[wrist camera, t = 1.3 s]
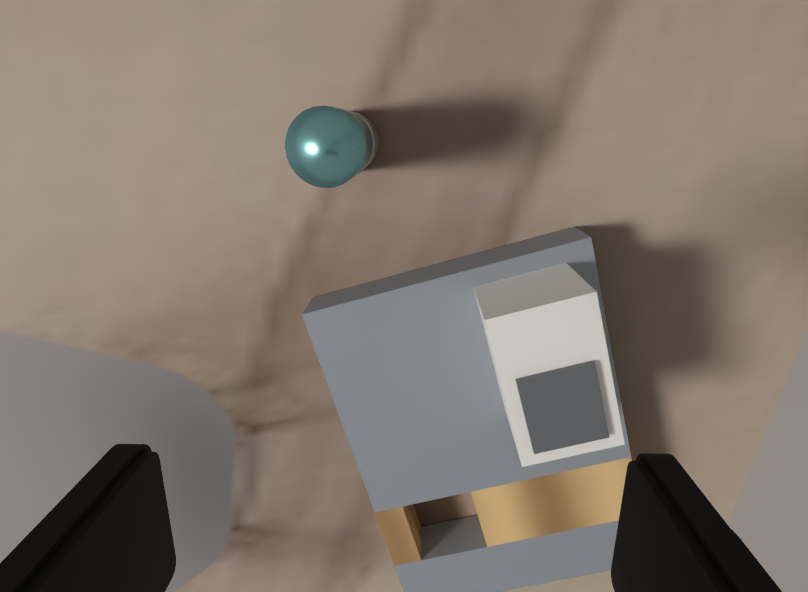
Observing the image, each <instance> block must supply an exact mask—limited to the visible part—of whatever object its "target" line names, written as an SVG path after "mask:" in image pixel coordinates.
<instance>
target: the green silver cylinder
mask: <svg viewBox="0 0 808 592" xmlns="http://www.w3.org/2000/svg"><path fill="white" fill-rule="evenodd" d="M378 147H379V138H378V133H377V131H376V128H375V126H374V125H373V123H372V122H371V121H370V120H369V119H368V118H367V117H365V116H364V115H362V114H360V113H357V112H352V111H348V110H343V109H338V108H334V107H329V106H316V107H312V108H309V109H307V110H305V111H303V112H302V113H300V114H299V115H298V116H297V117H296V118H295V119H294V120H293V122H292V123H291V125H290V127H289V129H288V131H287V135H286V140H285V150H286V155H287V159H288V161H289V164H290V166H291V167H292V169H293V170H294V172H295V173H296V174H297V175H298V176H299V177H300V178H301V179H302V180H304V181H305V182H307V183H309V184H311V185H313V186H316V187H321V188H331V187H336V186H339V185H342V184H344V183H345V182H347V181H348V180H350V179H351V178H352V177H354V176H355V175H356V174H358V173H359V172H360V171H362V170H363V169H364V168H366V167H367V166H368V165H369V164H370V163H371V162H372V161H373V160H374V158H375V157H376V154H377V152H378Z"/></svg>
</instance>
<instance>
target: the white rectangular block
mask: <svg viewBox="0 0 808 592" xmlns="http://www.w3.org/2000/svg"><path fill="white" fill-rule="evenodd" d="M474 291H475V295H476V299H477V303H478V306H479V310H480V314H481V318H482V322H483V326H484V330H485V334H486V337H487V341H488V345H489V349H490V353H491V357H492V361H493V364H494V368H495V372H496V376H497V380H498V384H499V388H500V391H501V395H502V399H503V403H504V407H505V411H506V414H507V418H508V421H509V425H510V428H511V431H512V435H513V438H514V441H515V445H516V448H517V451H518V455H519V458H520V462H521V465H522V467H525V466H530V465H534V464H539V463H543V462H548V461H552V460H557V459H562V458H566V457H571V456H575V455H580V454H584V453H589V452H593V451H598V450H603V449H607V448H612V447H616V446H621V445H625V442H624V437H623V432H622V426H621V421H620V415H619V410H618V405H617V399H616V394H615V388H614V383H613V377H612V372H611V367H610V361H609V356H608V350H607V345H606V339H605V334H604V329H603V323H602V318H601V312H600V307H599V302H598V296H597V291H595V290H594V289H593V288H592V287H591V286H590V285H589V284H588V283H587V282H586V281H585V280H584V279H583V278H582V277H581V276H580V275H578V274H577V273H576V272H575V271H574V270H573V269H572V268H571V267H570V266H569V265H568V264H567V263H564V264H560V265H556V266H552V267H548V268H545V269H541V270H537V271H533V272H529V273H526V274H522V275H518V276H514V277H510V278H507V279H503V280H499V281H495V282H491V283H488V284H484V285H480V286H476V287H474Z"/></svg>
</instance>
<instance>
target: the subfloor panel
mask: <svg viewBox="0 0 808 592" xmlns="http://www.w3.org/2000/svg"><path fill="white" fill-rule="evenodd" d="M564 263H567V264H568V265H569V266H570V267H571V268H572V269H573V270H574V271H575V272H576V273H577V274H578V275H580V276H581V277H582V278H583V279H584V280H585V281H586V282H587V283H588V284H589V285H590V286H591V287H592V288H593V289H594V290H595V291H597V296H598V302H599V307H600V312H601V318H602V323H603V329H604V334H605V339H606V345H607V350H608V356H609V361H610V367H611V372H612V377H613V383H614V388H615V394H616V399H617V405H618V410H619V415H620V421H621V426H622V432H623V437H624V442H625V445H621V446H616V447H612V448H607V449H603V450H598V451H593V452H589V453H584V454H580V455H575V456H571V457H566V458H562V459H557V460H552V461H548V462H543V463H539V464H534V465H530V466H525V467H522V465H521V462H520V458H519V455H518V451H517V448H516V445H515V441H514V438H513V435H512V431H511V428H510V425H509V421H508V418H507V414H506V411H505V407H504V403H503V399H502V395H501V391H500V388H499V384H498V380H497V376H496V372H495V368H494V364H493V361H492V357H491V353H490V349H489V345H488V341H487V337H486V334H485V330H484V326H483V322H482V318H481V314H480V310H479V306H478V303H477V299H476V295H475V291H474V287H476V286H480V285H484V284H488V283H491V282H495V281H499V280H503V279H507V278H510V277H514V276H518V275H522V274H526V273H529V272H533V271H537V270H541V269H545V268H548V267H552V266H556V265H560V264H564ZM302 317H303V319H304V322H305V325H306V327H307V330H308V333H309V336H310V338H311V341H312V344H313V346H314V349H315V352H316V354H317V357H318V360H319V363H320V365H321V368H322V371H323V373H324V376H325V379H326V382H327V384H328V387H329V390H330V392H331V395H332V398H333V400H334V403H335V406H336V409H337V411H338V414H339V417H340V419H341V422H342V425H343V427H344V430H345V433H346V436H347V438H348V441H349V444H350V446H351V449H352V452H353V454H354V457H355V460H356V463H357V465H358V468H359V471H360V473H361V476H362V479H363V481H364V484H365V487H366V490H367V492H368V495H369V498H370V500H371V503H372V506H373V508H374V511H375V514H376V517H377V519H378V522H379V525H380V527H381V530H382V533H383V535H384V538H385V541H386V544H387V546H388V549H389V552H390V554H391V557H392V560H393V562H394V565H395V568H396V571H397V573H398V576H399V579H400V581H401V584H402V587H403V590H404V592H500V591H505V590H510V589H516V588H521V587H526V586H531V585H536V584H541V583H547V582H552V581H557V580H562V579H567V578H573V577H578V576H583V575H588V574H593V573H599V572H604V571H609V570H611V566H612V559H613V553H614V547H615V540H616V534H617V528H618V522H619V515H620V509H621V503H622V496H623V490H624V484H625V477H626V471H627V466H628V463H629V462H630V461H632V458H631V453H630V447H629V442H628V436H627V431H626V425H625V420H624V414H623V409H622V403H621V398H620V392H619V387H618V381H617V376H616V370H615V365H614V359H613V354H612V348H611V343H610V337H609V332H608V326H607V321H606V315H605V310H604V304H603V299H602V293H601V288H600V282H599V277H598V271H597V266H596V260H595V255H594V249H593V244H592V238H591V237H590V236H589V235H587V234H586V233H584V232H583V231H581V230H579V229H578V228H576V227H572V228H568V229H564V230H561V231H557V232H553V233H549V234H546V235H542V236H538V237H535V238H531V239H527V240H524V241H520V242H516V243H512V244H509V245H505V246H501V247H498V248H494V249H490V250H487V251H483V252H479V253H475V254H472V255H468V256H464V257H461V258H457V259H453V260H450V261H446V262H442V263H439V264H435V265H431V266H427V267H424V268H420V269H416V270H413V271H409V272H405V273H402V274H398V275H394V276H390V277H387V278H383V279H379V280H376V281H372V282H368V283H365V284H361V285H357V286H353V287H350V288H346V289H342V290H339V291H335V292H331V293H328V294H324V295H320V296H317V297H313V298H312V299H311V301H310V302H309V304H308V306H307V307H306V309H305V310H304V312H303V313H302ZM468 492H471V494H472V497H473V501H474V504H475V508H476V511H477V514H478V515H474V516H469V517H465V518H460V519H455V520H450V521H446V522H441V523H436V524H431V525H427V526H422V527H421V525H420V522H419V519H418V516H417V513H416V510H415V507H414V504H417V503H421V502H426V501H431V500H435V499H440V498H445V497H449V496H454V495H458V494H463V493H468Z"/></svg>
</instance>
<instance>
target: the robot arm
mask: <svg viewBox="0 0 808 592" xmlns="http://www.w3.org/2000/svg"><path fill="white" fill-rule="evenodd" d="M175 566H176V556H175V549H174V544H173V537H172V531H171V526H170V519H169V513H168V507H167V501H166V495H165V490H164V483H163V477H162V471H161V465H160V459H159V456H158V454H157V453H156V452H152V451H151V449H150V447H149V446H148V445H145V444H117V445H115V446H113V447H112V448H111V449H110V450H109V451H108V452H107V453H106V454H105V455H104V456H103V457H102V459H101V460H99V462H98V463H97V464H96V465H95V466H94V467H93V468H92V469H91V470H90V471H89V472H88V473H87V474H86V475H85V476H84V477H83V478H82V479H81V480H80V481H79V482H78V483H77V484H76V485H75V487H74V488H73V489H72V490H71V491H70V492H69V493H68V494H67V495H66V496H65V497H64V498H63V499H62V500H61V501H60V502H59V503H58V504H57V505H56V506H55V507H54V508H53V509H52V511H50V512H49V513H48V514H47V515H46V517H45V518H44V519H43V520H42V521H41V522H40V523H39V524H38V525H37V526H36V527H35V528H34V529H33V530H32V531H31V532H30V533H29V534H28V535H27V536H26V537H25V538H24V539H23V540H22V541H21V542H20V543H19V545H18V546H17V547H16V548H15V549H14V550H13V551H12V552H11V553H10V554H9V555H8V556H7V557H6V558H5V559H4V560H3V561H2V562H1V563H0V592H165V590H166V588H167V587H168V585H169V583H170V581H171V579H172V577H173V574H174V571H175ZM611 578H612V584H613V588H614V590H615V592H782V591H781V590H780V589H779V587H778V586H777V585H776V584H775V582H774V581H773V580H772V579H771V577H770V576H769V575H768V573H767V572H766V571H765V570H764V568H763V567H762V566H761V565H760V563H759V562H758V561H757V559H756V558H755V557H754V556H753V554H752V553H751V552H750V551H749V549H748V548H747V547H746V546H745V545H744V543H743V542H742V541H741V539H740V538H739V537H738V536H737V535H736V534H735V533H734V532H733V531H732V530H731V529H730V528H729V526H728V525H727V524H726V522H725V521H724V520H723V519H722V517H721V516H720V515H719V513H718V512H717V511H716V510H715V508H714V507H713V506H712V504H711V503H710V502H709V501H708V499H707V498H706V497H705V496H704V494H703V493H702V492H701V490H700V489H699V488H698V487H697V485H696V484H695V483H694V481H693V480H692V479H691V478H690V476H689V475H688V474H687V472H686V471H685V470H684V469H683V467H682V466H681V465H680V464H679V462H678V461H677V460H676V458H675V457H674V456H673V455H670V454H639V455H638V457H637V458H636V461H630V462H629V463H628V466H627V471H626V477H625V484H624V490H623V496H622V503H621V509H620V515H619V522H618V528H617V534H616V540H615V547H614V553H613V559H612V566H611Z"/></svg>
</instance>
